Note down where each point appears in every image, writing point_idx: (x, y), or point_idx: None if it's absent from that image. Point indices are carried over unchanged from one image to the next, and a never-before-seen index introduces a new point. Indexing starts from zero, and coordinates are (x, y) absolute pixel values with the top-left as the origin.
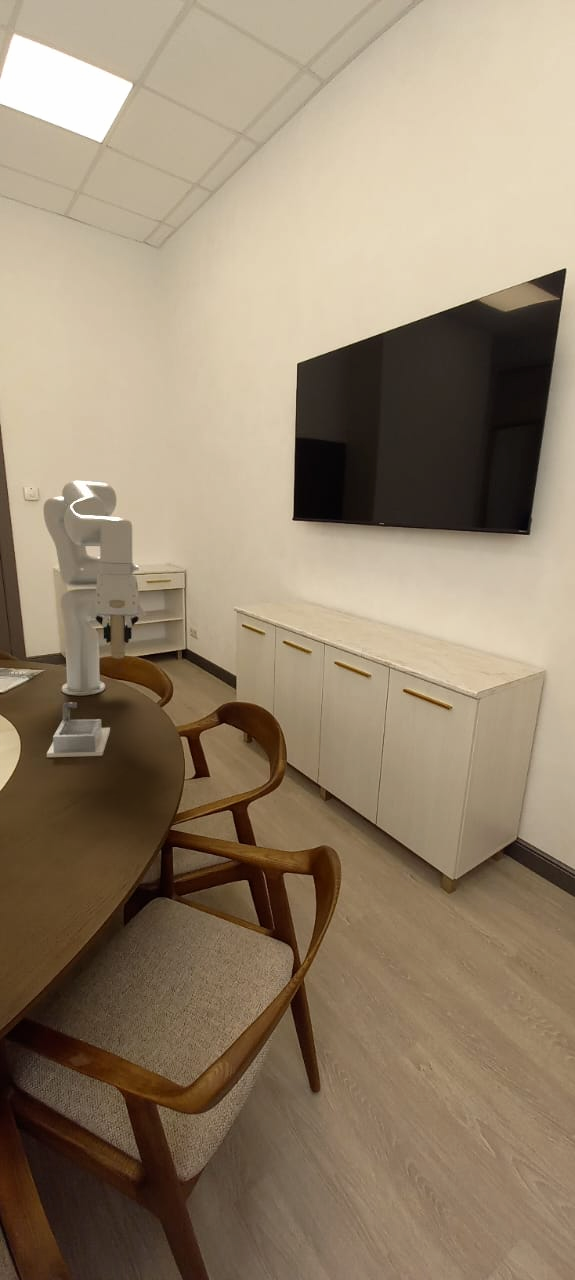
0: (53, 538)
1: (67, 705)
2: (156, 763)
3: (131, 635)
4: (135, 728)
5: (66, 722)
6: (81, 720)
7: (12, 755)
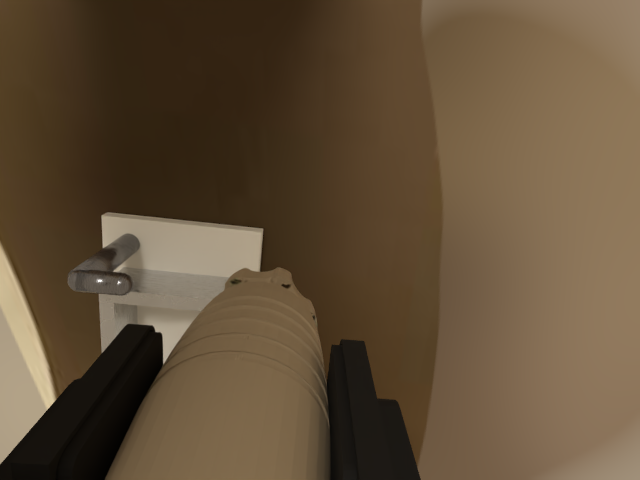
0: None
1: (88, 292)
2: None
3: (399, 419)
4: (343, 218)
5: (116, 301)
6: (164, 304)
7: (22, 342)
